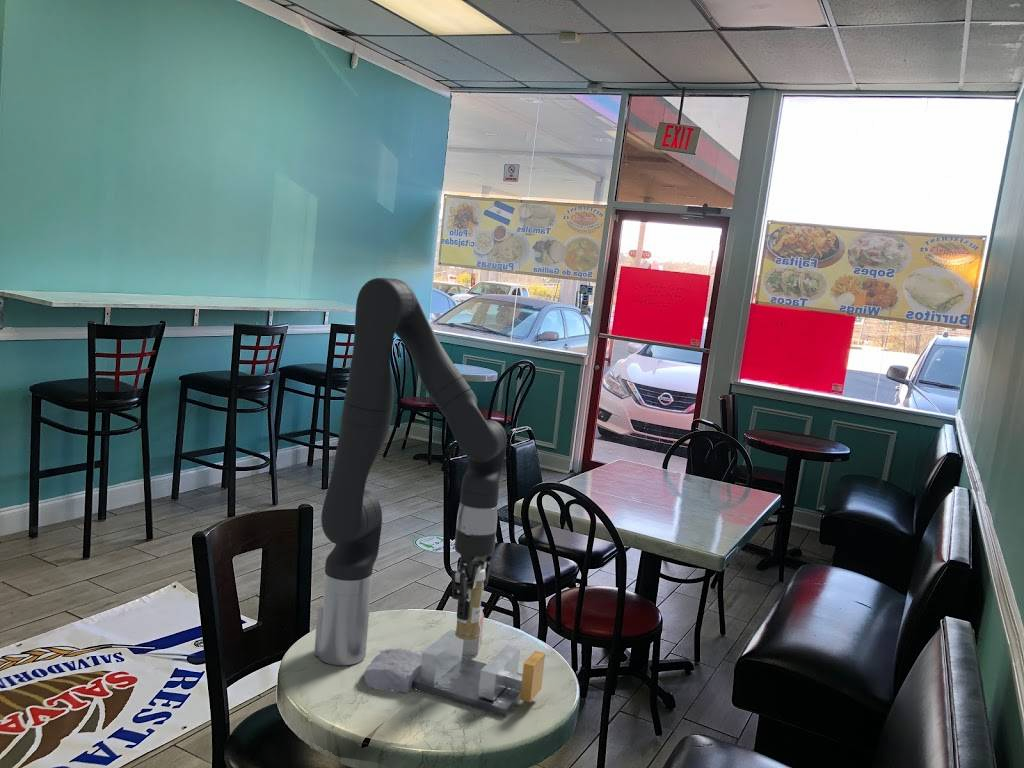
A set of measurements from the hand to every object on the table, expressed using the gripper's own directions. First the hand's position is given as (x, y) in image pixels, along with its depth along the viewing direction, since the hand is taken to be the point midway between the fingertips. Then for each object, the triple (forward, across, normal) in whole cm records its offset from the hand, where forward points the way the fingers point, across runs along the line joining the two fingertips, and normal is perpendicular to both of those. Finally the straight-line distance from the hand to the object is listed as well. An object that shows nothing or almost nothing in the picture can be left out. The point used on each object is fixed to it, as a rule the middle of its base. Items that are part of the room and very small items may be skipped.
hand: (468, 614), depth 154 cm
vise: (+14, 0, +2) cm, 14 cm away
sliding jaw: (+12, 0, +11) cm, 16 cm away
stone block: (+14, +5, -12) cm, 19 cm away
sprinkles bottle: (+4, 0, 0) cm, 5 cm away
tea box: (+14, -15, -5) cm, 21 cm away
